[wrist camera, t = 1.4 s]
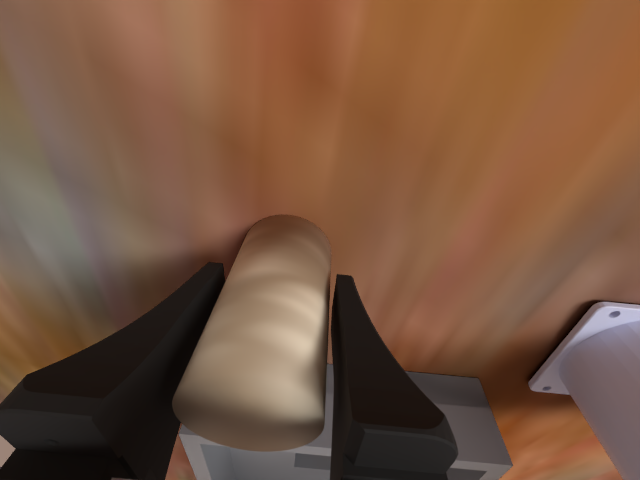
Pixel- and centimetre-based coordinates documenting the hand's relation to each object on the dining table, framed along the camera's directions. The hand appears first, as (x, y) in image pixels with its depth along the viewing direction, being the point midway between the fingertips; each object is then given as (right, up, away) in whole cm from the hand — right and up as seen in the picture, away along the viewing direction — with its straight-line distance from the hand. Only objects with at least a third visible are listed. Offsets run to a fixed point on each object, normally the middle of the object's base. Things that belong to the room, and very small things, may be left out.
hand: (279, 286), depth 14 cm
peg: (0, +1, +2) cm, 2 cm away
